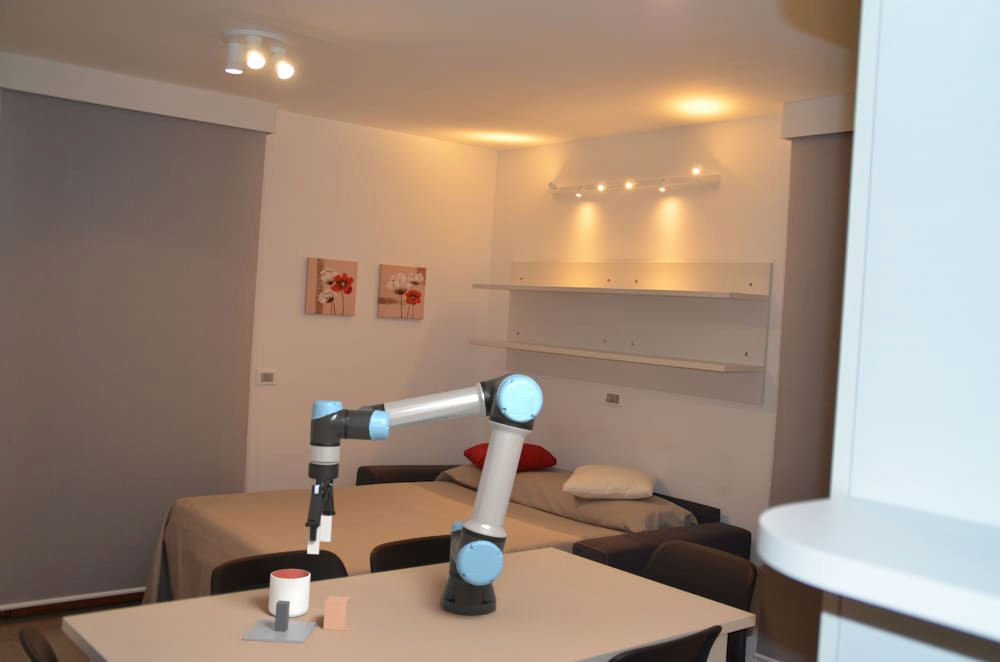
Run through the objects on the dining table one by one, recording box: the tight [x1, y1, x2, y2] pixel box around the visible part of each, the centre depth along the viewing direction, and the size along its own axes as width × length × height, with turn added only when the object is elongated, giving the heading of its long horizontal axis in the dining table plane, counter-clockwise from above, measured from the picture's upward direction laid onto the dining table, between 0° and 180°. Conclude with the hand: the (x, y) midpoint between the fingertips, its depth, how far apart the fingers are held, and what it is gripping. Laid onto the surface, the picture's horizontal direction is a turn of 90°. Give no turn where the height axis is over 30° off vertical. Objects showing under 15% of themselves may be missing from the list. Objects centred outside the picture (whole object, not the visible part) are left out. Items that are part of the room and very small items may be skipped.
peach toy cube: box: [323, 595, 351, 631], centre depth 213 cm, size 5×5×7 cm
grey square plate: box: [243, 601, 318, 644], centre depth 207 cm, size 14×14×7 cm
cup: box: [268, 568, 312, 619], centre depth 222 cm, size 10×10×10 cm
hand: (319, 547), depth 217 cm, fingers open, 13 cm apart
